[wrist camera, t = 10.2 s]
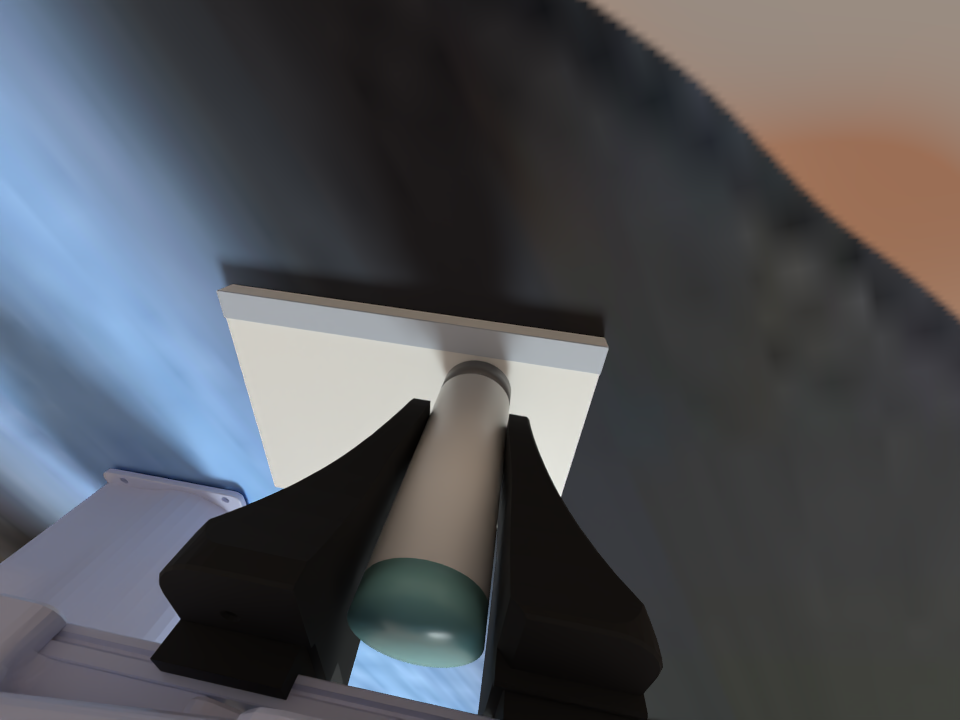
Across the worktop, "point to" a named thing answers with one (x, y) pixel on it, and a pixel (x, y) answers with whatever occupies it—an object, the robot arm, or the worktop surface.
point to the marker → (441, 531)
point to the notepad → (392, 373)
